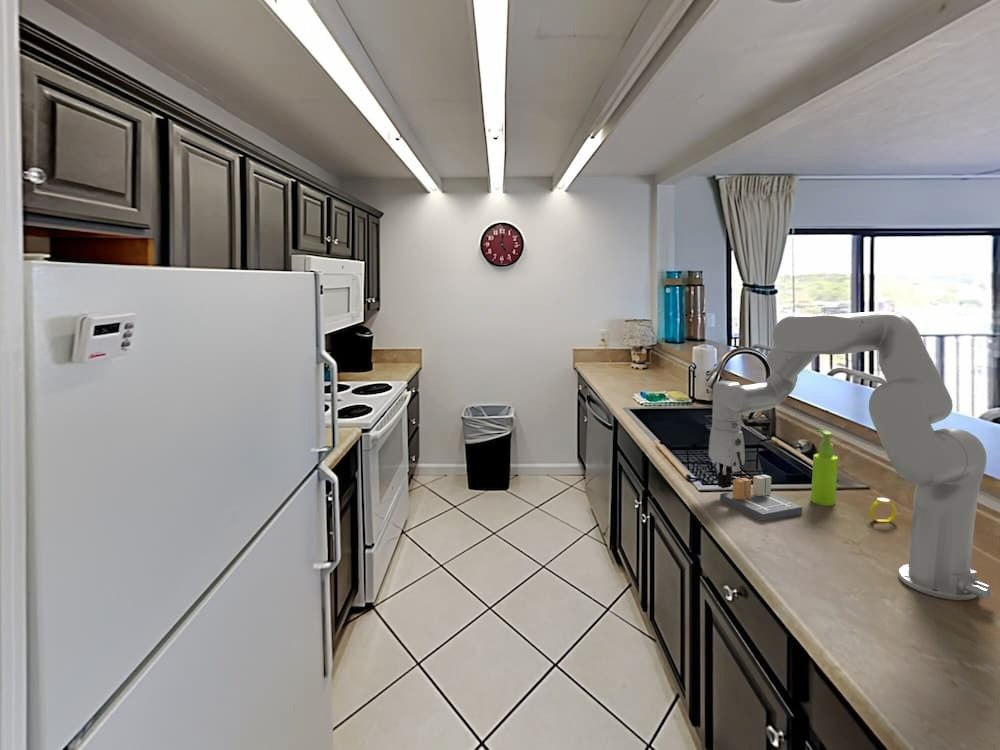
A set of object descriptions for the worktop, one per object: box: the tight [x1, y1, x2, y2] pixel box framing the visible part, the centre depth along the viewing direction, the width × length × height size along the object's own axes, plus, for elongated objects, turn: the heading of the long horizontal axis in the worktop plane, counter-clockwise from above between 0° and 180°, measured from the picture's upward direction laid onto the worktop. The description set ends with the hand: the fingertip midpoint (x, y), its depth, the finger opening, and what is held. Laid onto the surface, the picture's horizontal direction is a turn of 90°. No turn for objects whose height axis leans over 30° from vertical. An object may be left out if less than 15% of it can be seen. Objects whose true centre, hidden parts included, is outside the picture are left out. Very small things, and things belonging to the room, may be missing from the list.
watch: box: [868, 497, 898, 524], centre depth 141 cm, size 6×3×6 cm, turn 85°
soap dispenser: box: [810, 429, 839, 507], centre depth 154 cm, size 6×7×20 cm
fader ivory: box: [752, 474, 772, 496], centre depth 156 cm, size 2×4×5 cm, turn 109°
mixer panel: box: [719, 488, 803, 522], centre depth 153 cm, size 16×13×2 cm
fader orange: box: [732, 477, 752, 500], centre depth 154 cm, size 2×4×5 cm, turn 108°
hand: (724, 486), depth 161 cm, fingers closed
